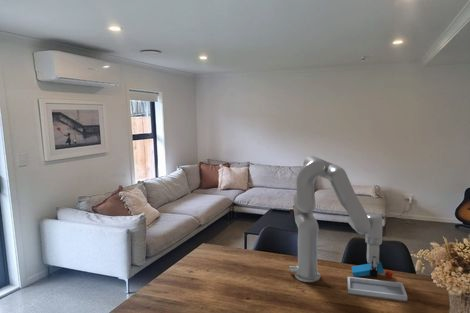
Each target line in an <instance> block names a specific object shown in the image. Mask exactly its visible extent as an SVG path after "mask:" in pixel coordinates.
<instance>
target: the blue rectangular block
mask: <svg viewBox="0 0 470 313" xmlns="http://www.w3.org/2000/svg"><path fill="white" fill-rule="evenodd" d="M372 266H373V265H372ZM370 269H371V264H368V263H364V264H359V265H355V266H354V265H353V266H351V271H352V272H351V273H352V275H353V276H352V277H356V278H360V277H365V276H370ZM378 274H381V275H385V277H386V278H387V279H388V278H389V279H391V278H392V277H393V275H394V274H393V272H392V271H390V270H384V267H383V264H382V262H381V261H379V264H378V265H377V275H378Z"/></svg>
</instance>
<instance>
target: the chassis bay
mask: <svg viewBox="0 0 470 313" xmlns="http://www.w3.org/2000/svg"><path fill="white" fill-rule="evenodd" d="M347 294H348V295H353V296H358V297H359V296H360V297H366V298H367V297H368V298H376V299H382V300H390V301H391V300H392V301H398V302H407V303H408V295H407V292H406V289H405V287H404V283H403V282H398V281H389V280H383V279H381V280H380V279H371V278H363V277H354V276H347Z"/></svg>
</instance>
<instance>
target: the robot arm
mask: <svg viewBox="0 0 470 313" xmlns="http://www.w3.org/2000/svg"><path fill="white" fill-rule="evenodd" d="M296 176H297V177H296V183H295V184H296V192H295V194H294V196H293V214H294V221H295V224H296V227H297V233H298V234H297V265H295V266H293V265H289V266H288V270H290V272H291V273H294V277H295V279H297V280H298V281H301V282H303V283H314V282H318V281H319V280H321V273H320V272H319V271H318V236H319V223H318V220H317V219H316V217H315V216H314V215H313V214H314V210H315V209H316V194H315V182H316V180H317V179H318V177H321V178H324V179H326V180H328V181H329V182H330V185H331V187H332V189H333V191H334V194H335V196H336V198H337V200H338V202H339V203H340V205H341V206H342V207H343V209H344V210H345V211H346V213H347V215H348V218H347V221H348V222H347V223H348V224H349V225H350V227H351V228H352V229H353V230H355V232H356V233H358V234H359V235H365V239H364V240H365V243H366V262H367V264H371V269H370V275H369V277H370V278H374V279H377V278H378V274H377V265H378V264H379V262H380V245H382V243H383V217H382V216H381V215H380V214H377V213H369V214H367V212H366V210H365V207H363V205H362V203H361V202H360V199H359V197H358V196H357V194H356V192H355V190H354V188H353V186H352V182H351V180H350V179H349V177H348V174H347V172H346V170H345V168H342V167H341V166H340V165H337V164H334V163H332V162H329V161H327V160H324V159H322V158H320V157H316V156H314V155H310V156H307V157H306V158H305V159H304V161H303V167H301V169H300V170H299V172H298V174H297V175H296ZM372 265H373V266H372Z"/></svg>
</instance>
